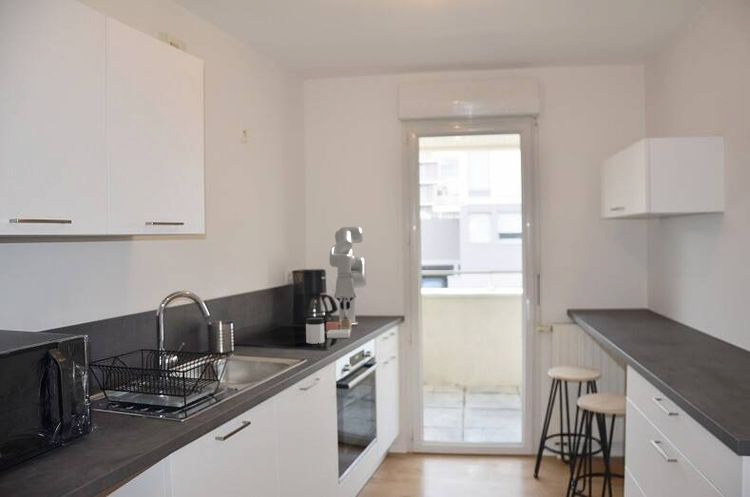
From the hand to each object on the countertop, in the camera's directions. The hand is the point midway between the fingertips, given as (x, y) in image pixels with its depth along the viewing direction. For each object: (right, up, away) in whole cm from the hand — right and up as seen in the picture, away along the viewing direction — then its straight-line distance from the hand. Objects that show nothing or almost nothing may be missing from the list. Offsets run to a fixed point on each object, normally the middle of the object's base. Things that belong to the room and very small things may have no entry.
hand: (345, 309), depth 333 cm
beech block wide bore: (0, -12, 0) cm, 12 cm away
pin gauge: (0, -6, 0) cm, 6 cm away
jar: (-13, -13, -36) cm, 40 cm away
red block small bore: (-7, -13, -6) cm, 16 cm away
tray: (-2, -13, -18) cm, 22 cm away
